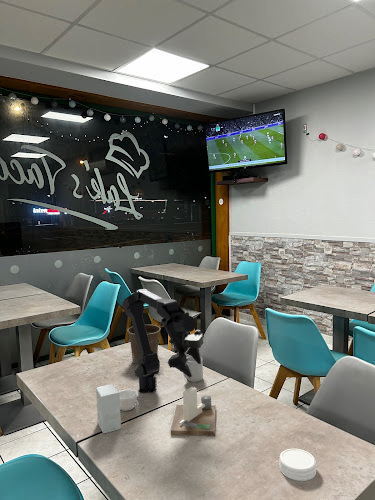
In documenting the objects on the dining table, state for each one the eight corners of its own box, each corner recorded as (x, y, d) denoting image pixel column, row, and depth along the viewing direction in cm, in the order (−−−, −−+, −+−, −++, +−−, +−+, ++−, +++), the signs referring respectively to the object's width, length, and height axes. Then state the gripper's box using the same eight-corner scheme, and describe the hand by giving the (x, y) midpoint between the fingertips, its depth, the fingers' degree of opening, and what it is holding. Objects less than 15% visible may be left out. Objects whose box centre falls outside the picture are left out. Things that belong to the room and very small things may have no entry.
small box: (121, 429, 133) (119, 392, 131) (103, 434, 130) (101, 396, 129) (115, 418, 140) (113, 383, 139) (97, 422, 137) (95, 387, 136)
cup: (206, 378, 171) (205, 358, 170) (190, 385, 164) (189, 365, 163) (194, 373, 176) (194, 354, 175) (178, 380, 169) (177, 360, 169)
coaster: (309, 458, 115) (309, 446, 114) (321, 481, 105) (321, 469, 105) (275, 459, 115) (275, 448, 114) (285, 483, 105) (284, 470, 104)
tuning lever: (205, 403, 145) (204, 378, 144) (213, 406, 142) (212, 380, 141) (176, 422, 132) (175, 394, 131) (184, 426, 130) (183, 397, 129)
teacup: (112, 409, 146) (111, 395, 146) (126, 401, 152) (126, 387, 152) (131, 417, 140) (130, 402, 140) (145, 408, 147) (145, 394, 146)
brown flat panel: (170, 434, 128) (170, 429, 128) (176, 408, 145) (176, 404, 145) (214, 435, 127) (214, 430, 127) (215, 409, 144) (215, 404, 144)
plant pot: (168, 359, 194) (167, 328, 192) (143, 370, 182) (142, 336, 180) (147, 352, 205) (145, 322, 203) (122, 361, 193) (120, 329, 192)
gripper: (183, 339, 133) (204, 379, 134) (203, 316, 149) (221, 352, 150) (158, 347, 138) (178, 386, 139) (180, 325, 154) (198, 359, 155)
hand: (195, 370), depth 146 cm, fingers open, 9 cm apart
